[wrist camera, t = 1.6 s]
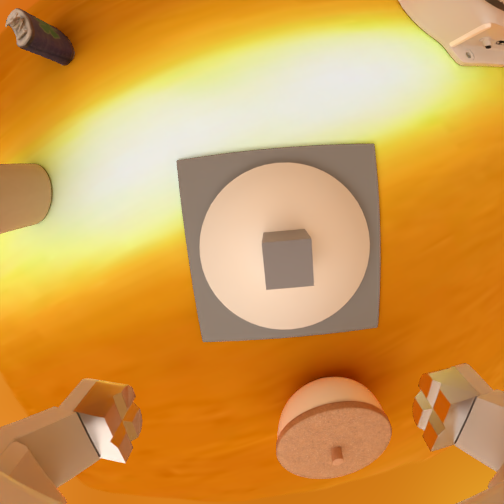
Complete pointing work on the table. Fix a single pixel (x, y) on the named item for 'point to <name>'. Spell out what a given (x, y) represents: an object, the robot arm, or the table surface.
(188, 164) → the mat
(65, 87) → the table surface
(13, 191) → the travel mug
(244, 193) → the lid
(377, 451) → the lidded bowl
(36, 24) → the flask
